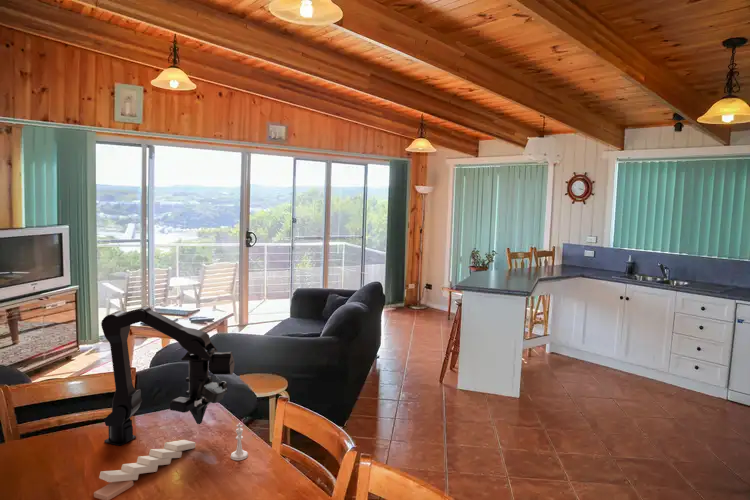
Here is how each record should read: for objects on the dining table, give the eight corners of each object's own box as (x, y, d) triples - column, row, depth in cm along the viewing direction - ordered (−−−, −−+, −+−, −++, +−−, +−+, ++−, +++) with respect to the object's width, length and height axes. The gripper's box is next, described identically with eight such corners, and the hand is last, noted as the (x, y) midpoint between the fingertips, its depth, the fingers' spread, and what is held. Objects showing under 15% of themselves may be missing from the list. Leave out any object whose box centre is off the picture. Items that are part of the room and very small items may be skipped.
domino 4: (157, 460, 148) (136, 462, 141) (159, 454, 149) (138, 456, 142) (170, 464, 147) (149, 466, 139) (171, 458, 147) (150, 460, 140)
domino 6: (182, 445, 158) (163, 448, 151) (183, 439, 158) (165, 442, 151) (194, 448, 157) (176, 451, 149) (195, 442, 157) (177, 445, 150)
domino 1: (127, 475, 139) (99, 478, 133) (129, 469, 140) (100, 471, 133) (137, 479, 137) (108, 482, 131) (139, 473, 137) (110, 475, 131)
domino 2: (120, 483, 137) (93, 498, 129) (120, 477, 137) (93, 492, 129) (133, 487, 135) (107, 502, 128) (133, 481, 135) (107, 496, 128)
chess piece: (243, 461, 149) (243, 427, 148) (227, 459, 150) (227, 425, 149) (250, 453, 154) (251, 420, 153) (235, 451, 155) (235, 418, 154)
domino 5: (168, 454, 152) (148, 455, 145) (170, 448, 153) (150, 449, 146) (180, 457, 150) (161, 458, 143) (182, 451, 151) (162, 452, 144)
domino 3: (144, 468, 144) (120, 470, 137) (146, 461, 144) (122, 464, 137) (156, 471, 142) (132, 474, 135) (158, 465, 142) (134, 467, 136)
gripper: (198, 387, 147) (199, 441, 149) (239, 368, 165) (239, 417, 166) (168, 381, 152) (168, 433, 153) (210, 364, 169) (211, 411, 170)
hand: (199, 423), depth 160 cm, fingers closed
